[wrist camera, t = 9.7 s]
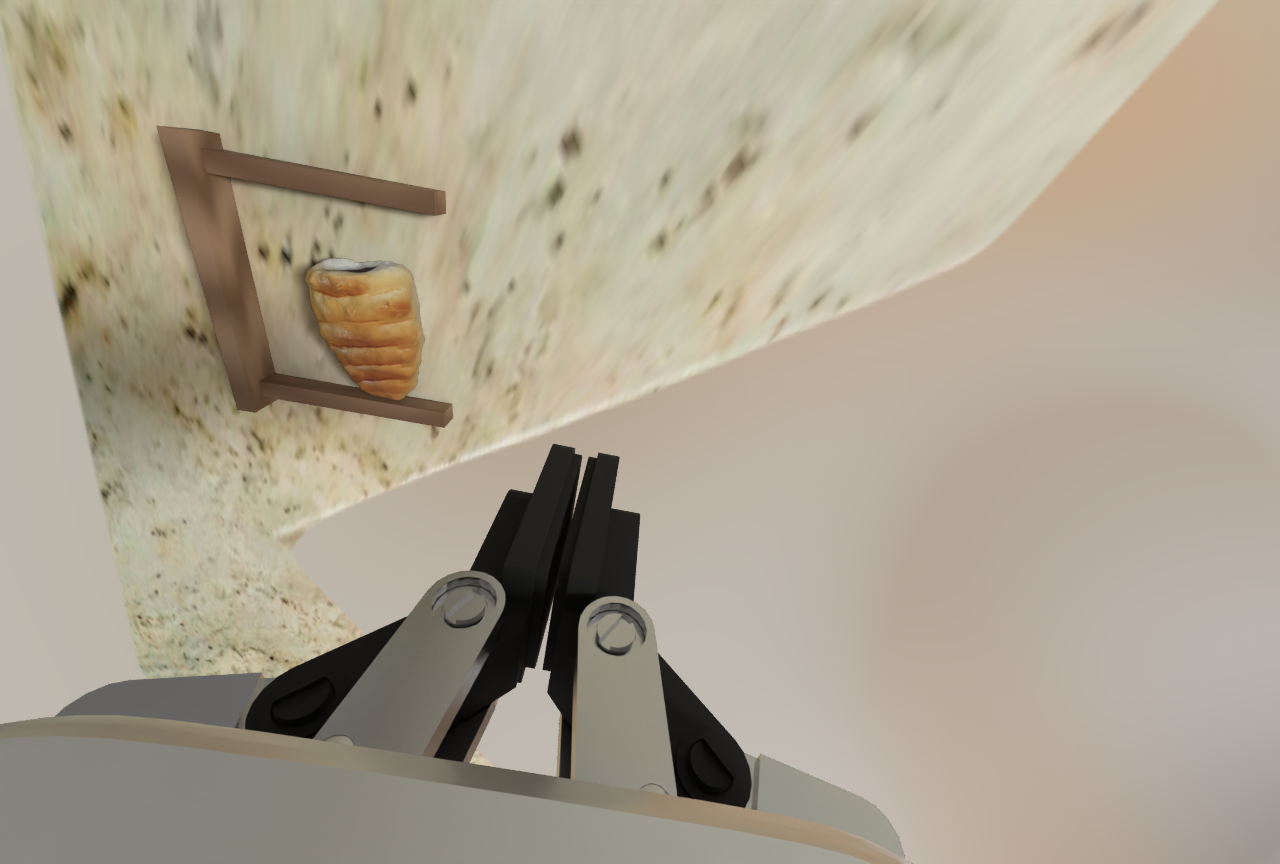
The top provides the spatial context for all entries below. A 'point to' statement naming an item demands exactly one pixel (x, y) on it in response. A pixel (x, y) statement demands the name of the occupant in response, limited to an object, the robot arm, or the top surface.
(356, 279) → the pastry
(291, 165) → the bay
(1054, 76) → the top surface
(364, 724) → the robot arm
